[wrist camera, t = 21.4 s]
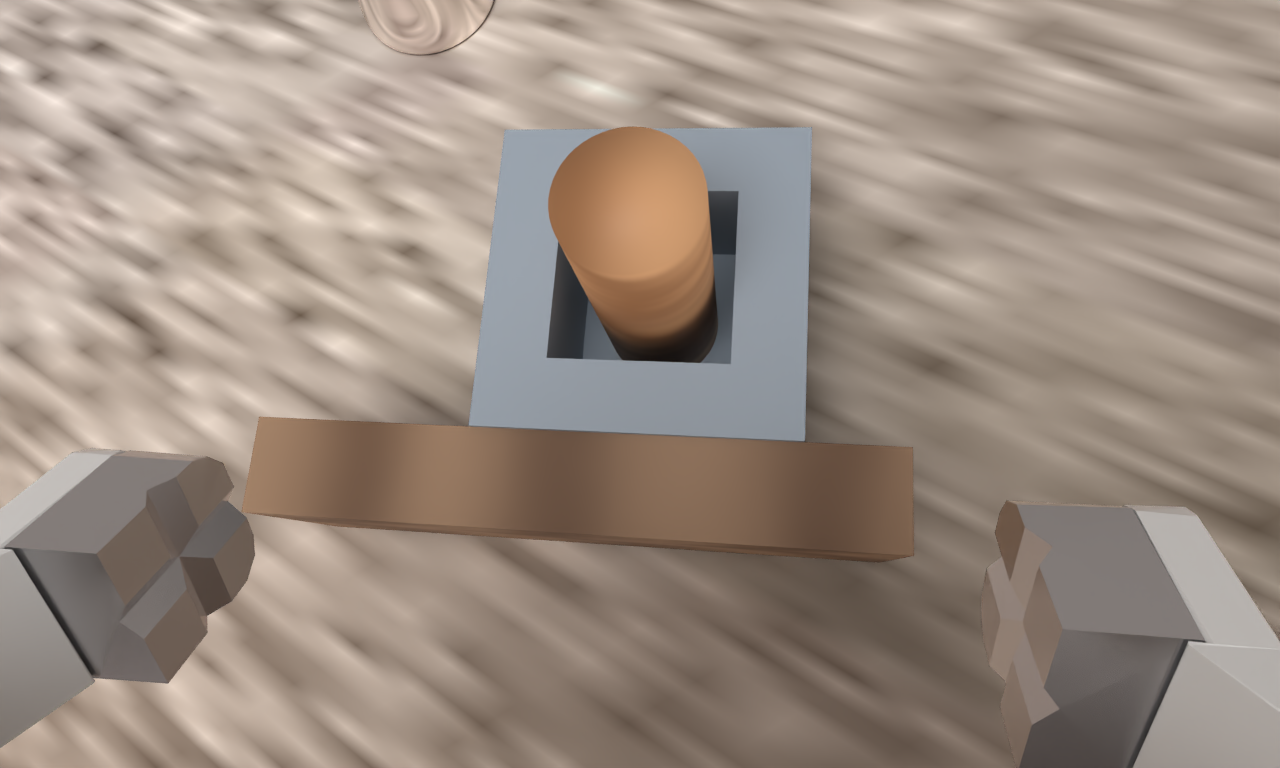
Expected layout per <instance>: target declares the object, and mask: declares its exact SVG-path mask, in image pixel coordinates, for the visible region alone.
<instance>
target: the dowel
mask: <svg viewBox="0 0 1280 768" xmlns="http://www.w3.org/2000/svg"><path fill="white" fill-rule="evenodd" d="M548 212H549V219H550V223H551V227H552V229H553V231H554V234H555V236H556V238H557V240H558V242H559V244H560V246H561V247H562V249H563V251H564V253H565V255H566V257H567V259H568V261H569V263H570V265H571V266H572V268H573V270H574V272H575V274H576V276H577V278H578V280H579V282H580V284H581V286H582V287H583V289H584V291H585V293H586V295H587V297H588V299H589V301H590V303H591V305H592V306H593V308H594V310H595V312H596V314H597V316H598V318H599V320H600V322H601V324H602V326H603V327H604V329H605V331H606V333H607V335H608V337H609V339H610V341H611V343H612V345H613V346H614V348H615V350H616V352H617V354H618V355H619V356H620V358H621V359H622V360H624V361H654V362H684V363H701V362H702V361H703V360H704V358H705V357H706V356H707V355H708V353H709V352H710V350H711V349H712V347H713V345H714V342H715V340H716V336H717V331H718V315H717V302H716V290H715V277H714V265H713V252H712V239H711V227H710V214H709V202H708V189H707V183H706V179H705V175H704V172H703V170H702V168H701V166H700V164H699V162H698V160H697V159H696V157H695V156H694V155H693V153H692V152H691V151H690V150H689V149H688V148H687V147H686V146H685V145H684V144H682V143H681V142H680V141H678V140H677V139H675V138H674V137H672V136H670V135H668V134H666V133H663V132H661V131H658V130H654V129H650V128H644V127H621V128H616V129H611V130H608V131H605V132H602V133H599V134H597V135H595V136H593V137H591V138H589V139H587V140H586V141H584V142H583V143H581V144H580V145H579V146H577V147H576V148H575V149H574V150H573V151H572V152H571V153H570V154H569V155H568V156H567V157H566V158H565V160H564V161H563V162H562V164H561V165H560V167H559V168H558V170H557V172H556V174H555V176H554V178H553V181H552V184H551V187H550V191H549V197H548Z"/></svg>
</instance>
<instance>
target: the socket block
mask: <svg viewBox="0 0 1280 768" xmlns="http://www.w3.org/2000/svg"><path fill="white" fill-rule="evenodd" d="M608 130H611V129H546V130H505V133H504V141H503V149H502V158H501V166H500V174H499V182H498V190H497V198H496V206H495V215H494V223H493V231H492V239H491V247H490V255H489V263H488V271H487V280H486V288H485V296H484V304H483V312H482V320H481V328H480V337H479V345H478V353H477V361H476V369H475V377H474V385H473V394H472V402H471V410H470V418H469V426H470V427H488V428H510V429H531V430H553V431H574V432H596V433H617V434H638V435H660V436H681V437H703V438H724V439H746V440H767V441H788V442H805V418H806V373H807V328H808V283H809V238H810V193H811V148H812V127H802V128H674V129H654V130H658V131H661V132H663V133H666V134H668V135H670V136H672V137H674V138H675V139H677V140H678V141H680V142H681V143H682V144H684V145H685V146H686V147H687V148H688V149H689V150H690V151H691V152H692V153H693V155H694V156H695V157H696V159H697V160H698V162H699V164H700V166H701V168H702V170H703V172H704V175H705V179H706V183H707V189H708V202H709V214H710V227H711V239H712V252H713V265H714V277H715V290H716V302H717V315H718V331H717V336H716V340H715V342H714V345H713V347H712V349H711V350H710V352H709V353H708V355H707V356H706V357H705V358H704V360H703V361H702V362H701V363H684V362H654V361H624V360H622V359H621V358H620V356H619V355H618V354H617V352H616V350H615V348H614V346H613V345H612V343H611V341H610V339H609V337H608V335H607V333H606V331H605V329H604V327H603V326H602V324H601V322H600V320H599V318H598V316H597V314H596V312H595V310H594V308H593V306H592V305H591V303H590V301H589V299H588V297H587V295H586V293H585V291H584V289H583V287H582V286H581V284H580V282H579V280H578V278H577V276H576V274H575V272H574V270H573V268H572V266H571V265H570V263H569V261H568V259H567V257H566V255H565V253H564V251H563V249H562V247H561V246H560V244H559V242H558V240H557V238H556V236H555V234H554V231H553V229H552V227H551V223H550V219H549V212H548V197H549V191H550V187H551V184H552V181H553V178H554V176H555V174H556V172H557V170H558V168H559V167H560V165H561V164H562V162H563V161H564V160H565V158H566V157H567V156H568V155H569V154H570V153H571V152H572V151H573V150H574V149H575V148H576V147H577V146H579V145H580V144H581V143H583V142H584V141H586V140H587V139H589V138H591V137H593V136H595V135H597V134H599V133H602V132H605V131H608Z"/></svg>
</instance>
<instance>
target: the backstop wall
mask: <svg viewBox="0 0 1280 768" xmlns="http://www.w3.org/2000/svg"><path fill="white" fill-rule="evenodd" d="M242 512H245V513H252V514H259V515H265V516H272V517H279V518H285V519H292V520H299V521H305V522H312V523H319V524H325V525H332V526H341V527H356V528H371V529H386V530H401V531H416V532H431V533H446V534H461V535H476V536H491V537H506V538H521V539H536V540H551V541H566V542H581V543H596V544H611V545H626V546H641V547H656V548H671V549H686V550H701V551H716V552H731V553H746V554H762V555H777V556H792V557H807V558H822V559H837V560H852V561H867V562H884V561H889V560H894V559H899V558H905V557H910V556H914V522H913V447H895V446H874V445H853V444H831V443H810V442H788V441H767V440H746V439H724V438H703V437H681V436H660V435H638V434H617V433H596V432H574V431H553V430H531V429H510V428H488V427H467V426H446V425H424V424H403V423H381V422H360V421H339V420H317V419H296V418H274V417H259V421H258V426H257V431H256V437H255V442H254V448H253V453H252V458H251V464H250V469H249V474H248V480H247V485H246V491H245V496H244V501H243V507H242Z"/></svg>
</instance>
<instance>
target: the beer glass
mask: <svg viewBox="0 0 1280 768" xmlns="http://www.w3.org/2000/svg"><path fill="white" fill-rule="evenodd" d="M493 1H494V0H358V3H359V5H360V8H361V10H362V13H363V15H364V18H365V20H366V22H367V24H368V26H369V27H370V29H371V31H372V32H373V33H374V35H375V36H376V37H377V38H378V39H379V40H380V41H381V42H383V43H384V44H385V45H387V46H388V47H390V48H392V49H394V50H396V51H399V52H403V53H407V54H415V55H424V54H432V53H437V52H441V51H444V50H447V49H449V48H451V47H454V46H456V45H457V44H459V43H461V42H462V41H464V40H465V39H467V38H468V37H469V36H470V35H472V34H473V33H474V32H475V31H476V30H477V29H478V28H479V27H480V25H481V24H482V23H483V22H484V20H485V19H486V17H487V15H488V13H489V11H490V9H491V7H492V4H493Z"/></svg>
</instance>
